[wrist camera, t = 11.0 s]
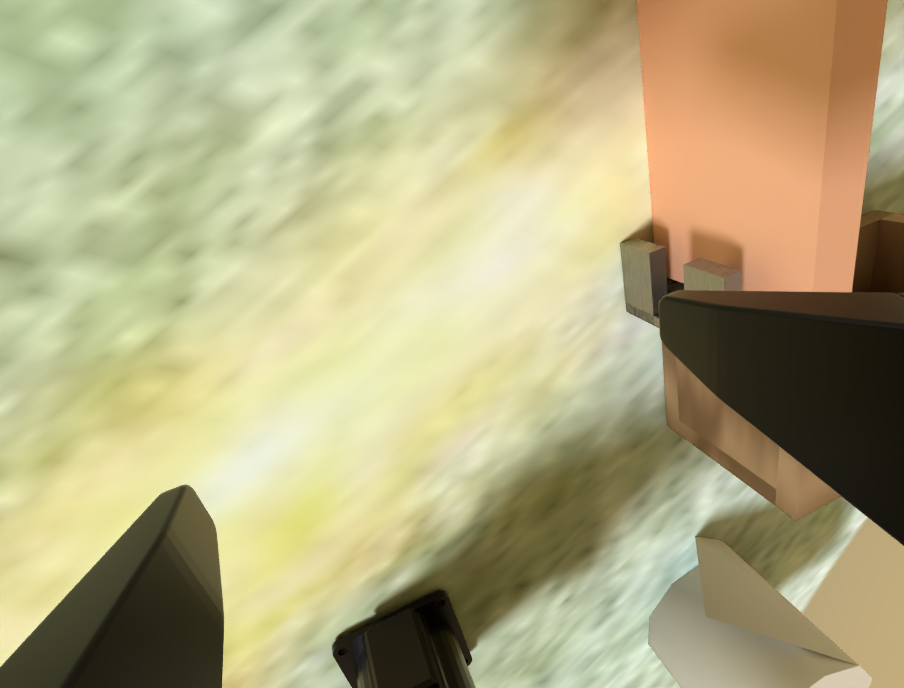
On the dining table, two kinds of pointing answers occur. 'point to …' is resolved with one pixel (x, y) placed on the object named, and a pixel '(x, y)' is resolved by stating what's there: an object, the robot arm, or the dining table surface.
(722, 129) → the cabinet door
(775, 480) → the cabinet
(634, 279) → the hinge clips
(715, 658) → the toilet tissue
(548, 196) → the dining table surface
